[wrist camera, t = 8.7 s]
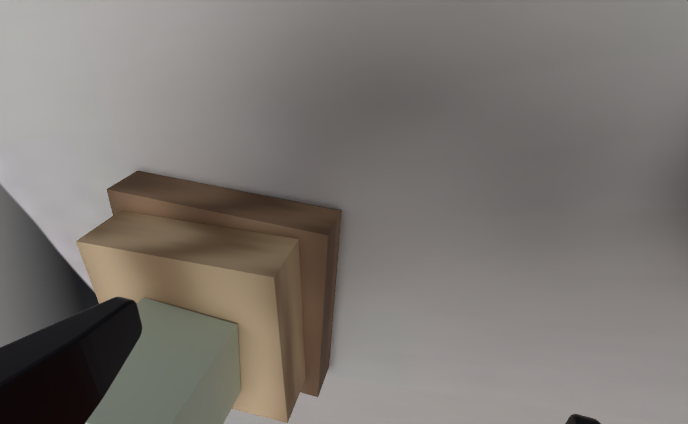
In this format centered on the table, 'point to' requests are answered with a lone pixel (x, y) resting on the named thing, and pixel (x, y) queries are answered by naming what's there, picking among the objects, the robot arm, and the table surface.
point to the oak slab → (213, 292)
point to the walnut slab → (262, 217)
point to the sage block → (175, 371)
